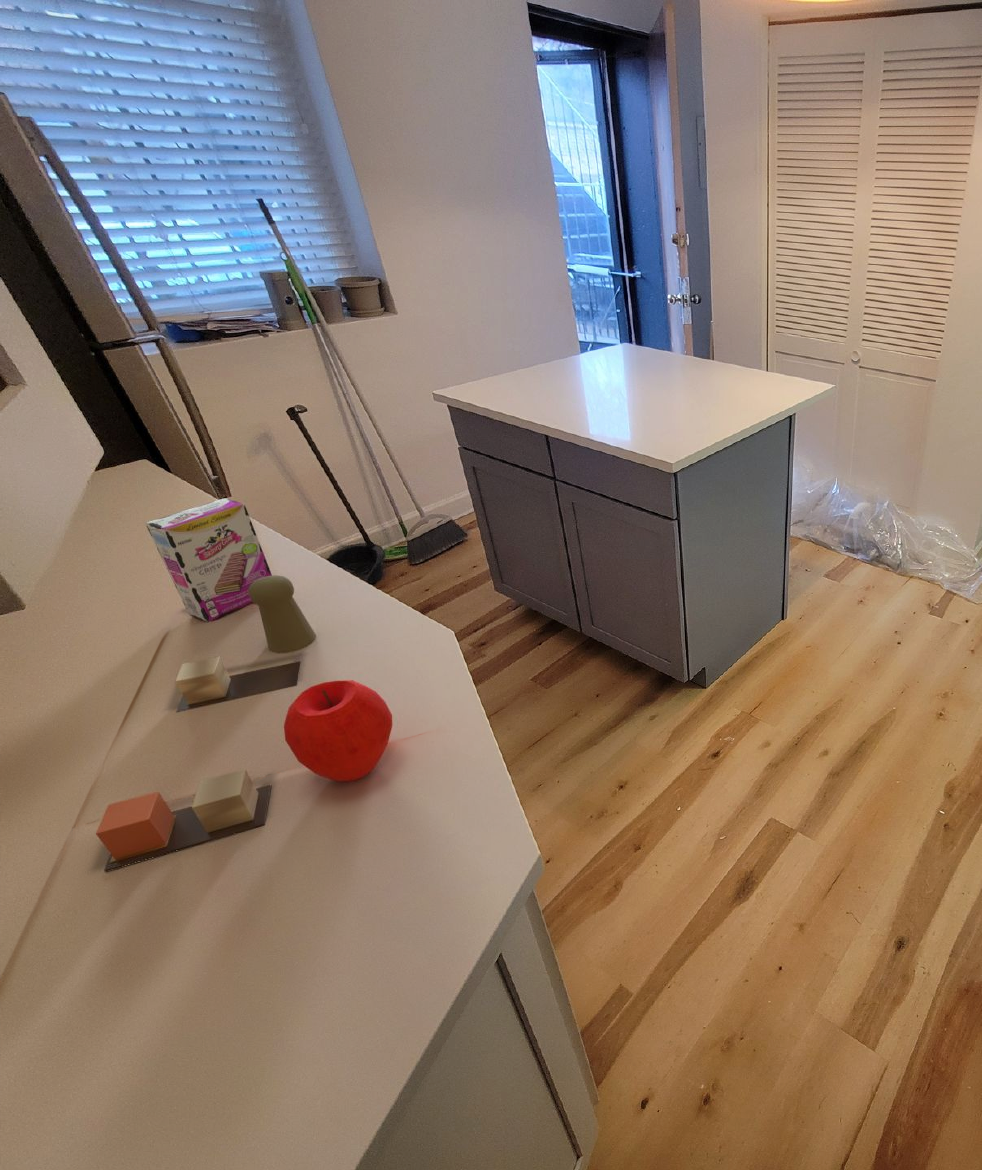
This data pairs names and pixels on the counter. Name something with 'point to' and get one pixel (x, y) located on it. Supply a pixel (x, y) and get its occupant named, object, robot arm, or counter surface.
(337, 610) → the counter surface
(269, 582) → the olive green shaker
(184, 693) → the grey rectangular tray
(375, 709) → the apple
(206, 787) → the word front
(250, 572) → the candy bar box
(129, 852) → the orange rounded box
